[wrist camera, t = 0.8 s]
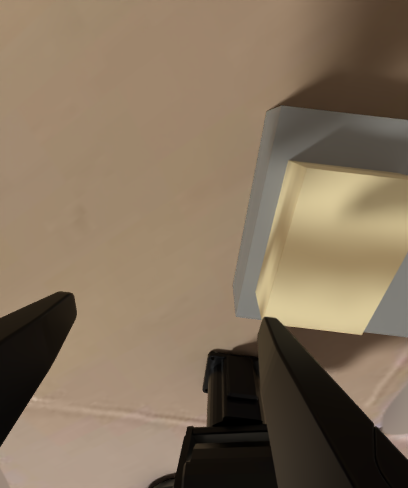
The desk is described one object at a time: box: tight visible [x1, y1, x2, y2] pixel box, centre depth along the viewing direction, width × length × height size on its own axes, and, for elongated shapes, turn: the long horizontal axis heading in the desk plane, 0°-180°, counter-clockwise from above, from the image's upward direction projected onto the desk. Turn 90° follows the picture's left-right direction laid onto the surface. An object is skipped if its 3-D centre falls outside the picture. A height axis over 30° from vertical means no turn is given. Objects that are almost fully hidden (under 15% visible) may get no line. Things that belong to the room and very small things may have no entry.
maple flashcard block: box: [255, 160, 408, 335], centre depth 13 cm, size 9×6×3 cm, turn 174°
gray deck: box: [233, 105, 408, 337], centre depth 17 cm, size 14×16×4 cm
